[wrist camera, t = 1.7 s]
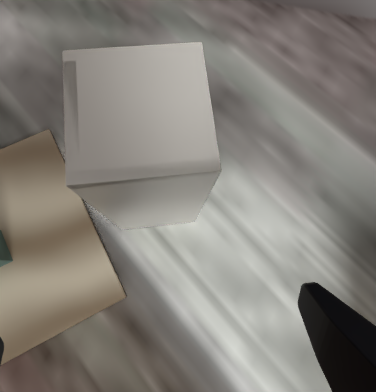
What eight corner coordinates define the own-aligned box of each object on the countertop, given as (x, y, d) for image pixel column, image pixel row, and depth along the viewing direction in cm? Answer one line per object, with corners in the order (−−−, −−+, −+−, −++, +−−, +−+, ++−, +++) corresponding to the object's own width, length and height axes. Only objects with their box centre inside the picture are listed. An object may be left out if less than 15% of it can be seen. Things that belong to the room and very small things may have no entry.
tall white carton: (194, 221, 22) (221, 170, 10) (122, 230, 22) (65, 185, 10) (186, 154, 23) (201, 42, 12) (117, 160, 23) (62, 50, 11)
